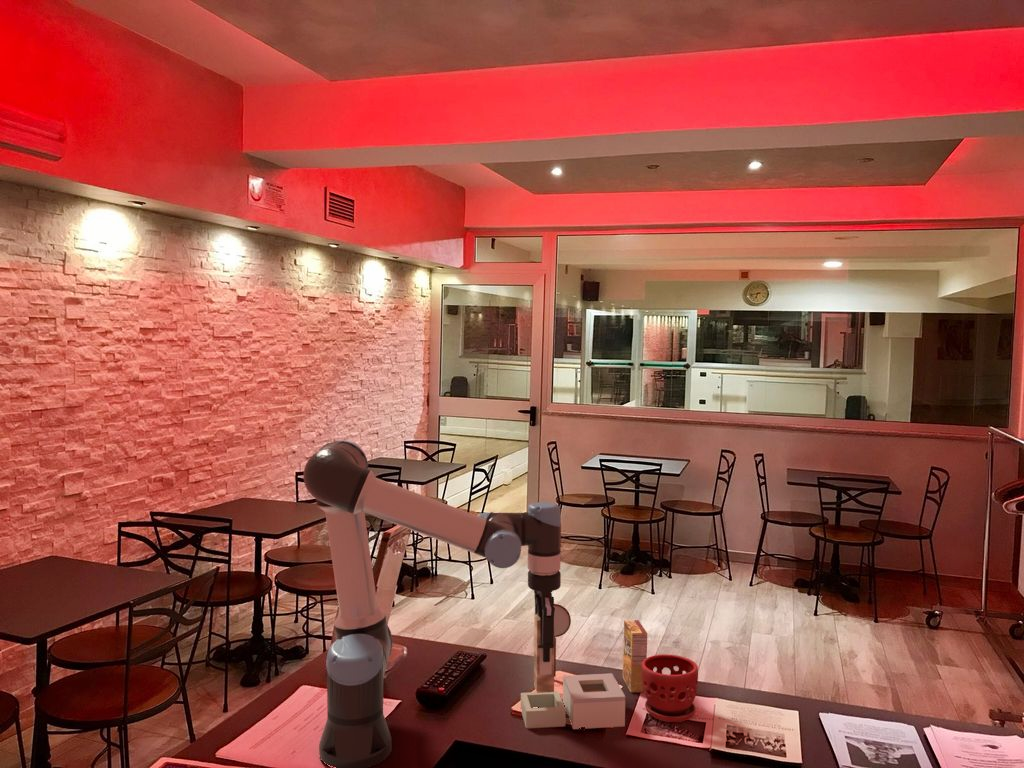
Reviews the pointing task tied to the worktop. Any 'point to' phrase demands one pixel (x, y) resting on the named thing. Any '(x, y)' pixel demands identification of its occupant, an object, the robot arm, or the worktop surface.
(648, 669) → the plant pot
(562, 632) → the magnifying glass
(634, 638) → the candy box
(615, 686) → the white box with opening
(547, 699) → the cream square open box
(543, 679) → the wooden square peg
